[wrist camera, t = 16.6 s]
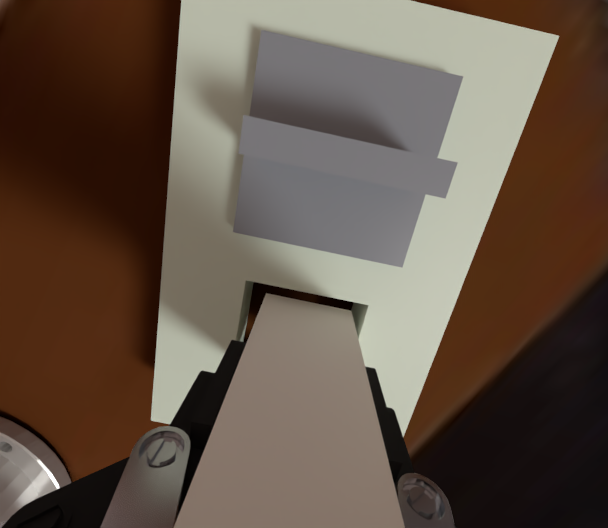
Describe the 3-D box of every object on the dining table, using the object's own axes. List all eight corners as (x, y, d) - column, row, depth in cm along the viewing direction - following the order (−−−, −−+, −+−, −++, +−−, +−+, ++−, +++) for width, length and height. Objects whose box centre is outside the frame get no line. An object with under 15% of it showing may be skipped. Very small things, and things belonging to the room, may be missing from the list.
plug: (252, 365, 15) (65, 955, 4) (266, 293, 14) (52, 835, 3) (331, 381, 15) (376, 1001, 4) (351, 310, 14) (498, 907, 3)
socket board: (175, 382, 19) (150, 420, 16) (213, -5, 13) (185, -54, 10) (380, 421, 19) (392, 465, 17) (506, 64, 13) (559, 35, 11)
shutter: (236, 229, 13) (208, 251, 9) (263, 36, 11) (241, -25, 7) (398, 263, 13) (428, 296, 10) (455, 81, 11) (519, 41, 8)
